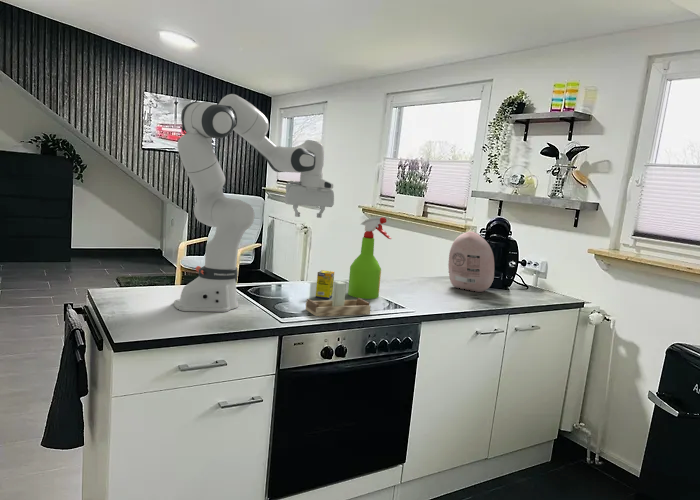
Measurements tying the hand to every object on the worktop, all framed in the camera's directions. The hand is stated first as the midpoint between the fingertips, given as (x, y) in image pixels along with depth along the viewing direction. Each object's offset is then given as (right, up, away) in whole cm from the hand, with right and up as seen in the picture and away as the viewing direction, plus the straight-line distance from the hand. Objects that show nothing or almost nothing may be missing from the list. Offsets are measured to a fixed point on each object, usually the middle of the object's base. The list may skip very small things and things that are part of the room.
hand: (308, 217), depth 208 cm
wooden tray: (+12, -36, -14) cm, 41 cm away
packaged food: (+77, -34, +55) cm, 100 cm away
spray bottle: (+24, -34, +19) cm, 46 cm away
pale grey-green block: (+12, -35, -14) cm, 40 cm away
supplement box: (+6, -33, +9) cm, 35 cm away
